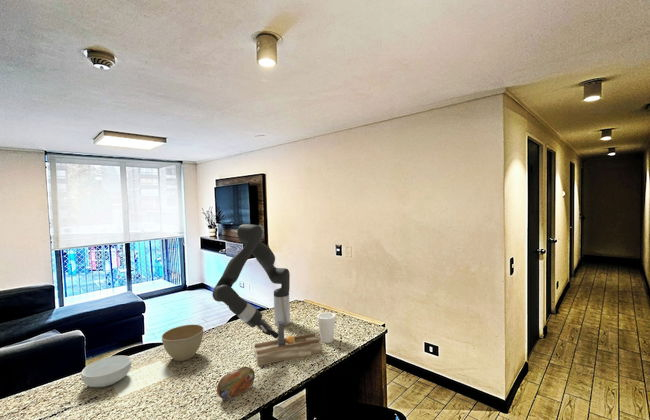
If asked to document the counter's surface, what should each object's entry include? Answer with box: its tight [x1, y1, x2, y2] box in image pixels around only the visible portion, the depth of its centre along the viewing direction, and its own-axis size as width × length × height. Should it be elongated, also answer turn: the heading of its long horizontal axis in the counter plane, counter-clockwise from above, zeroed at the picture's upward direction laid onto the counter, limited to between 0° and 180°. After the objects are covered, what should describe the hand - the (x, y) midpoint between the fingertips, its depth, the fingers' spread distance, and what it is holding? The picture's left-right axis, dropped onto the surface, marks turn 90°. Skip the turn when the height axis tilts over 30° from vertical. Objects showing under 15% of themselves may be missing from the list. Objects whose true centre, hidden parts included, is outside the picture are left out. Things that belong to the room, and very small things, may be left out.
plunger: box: [276, 321, 285, 346], centre depth 145 cm, size 4×3×11 cm
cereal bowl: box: [80, 354, 132, 388], centre depth 126 cm, size 17×17×7 cm
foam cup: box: [316, 311, 336, 344], centre depth 158 cm, size 10×9×13 cm
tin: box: [216, 366, 256, 401], centre depth 116 cm, size 15×3×8 cm, turn 137°
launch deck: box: [253, 332, 322, 366], centre depth 146 cm, size 12×30×6 cm, turn 110°
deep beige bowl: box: [161, 324, 204, 362], centre depth 145 cm, size 18×18×12 cm
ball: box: [286, 334, 295, 344], centre depth 146 cm, size 4×4×4 cm
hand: (277, 336), depth 144 cm, fingers closed
